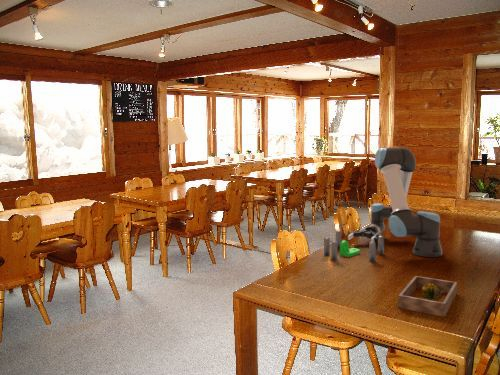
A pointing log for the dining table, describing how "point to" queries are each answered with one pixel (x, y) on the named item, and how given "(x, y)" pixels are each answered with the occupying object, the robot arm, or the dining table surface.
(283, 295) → the dining table surface
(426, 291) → the christmas decoration
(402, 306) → the wooden tray
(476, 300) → the dining table surface
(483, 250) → the dining table surface
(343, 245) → the mechanical part
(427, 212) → the robot arm
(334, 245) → the spacer posts
